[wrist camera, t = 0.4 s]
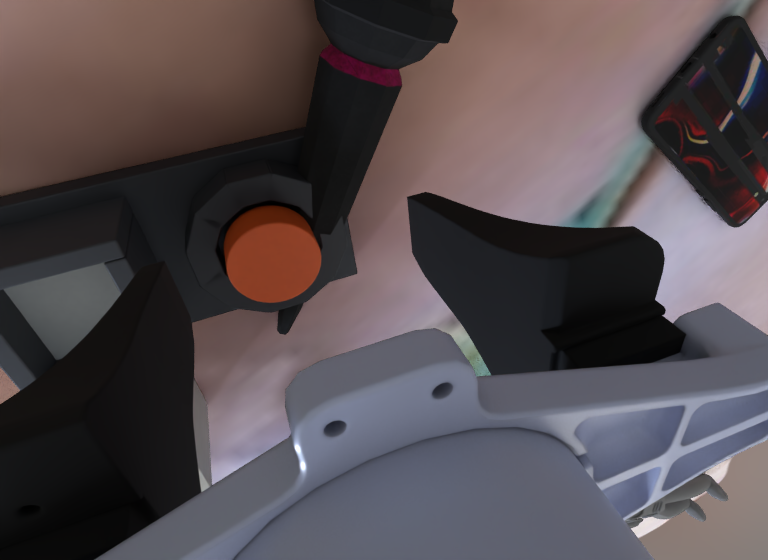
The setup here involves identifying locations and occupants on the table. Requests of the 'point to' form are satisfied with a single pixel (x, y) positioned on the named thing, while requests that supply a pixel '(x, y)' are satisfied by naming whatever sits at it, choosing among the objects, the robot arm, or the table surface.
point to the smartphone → (719, 122)
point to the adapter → (202, 213)
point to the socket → (63, 281)
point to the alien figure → (681, 501)
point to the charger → (202, 437)
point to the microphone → (358, 97)
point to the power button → (271, 254)
